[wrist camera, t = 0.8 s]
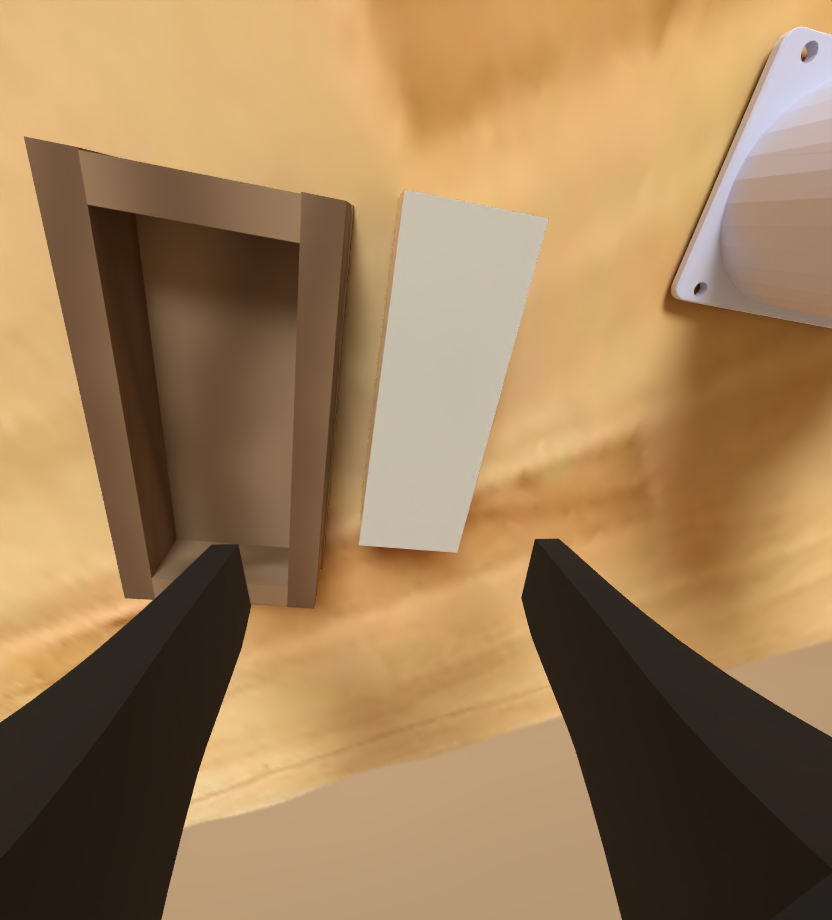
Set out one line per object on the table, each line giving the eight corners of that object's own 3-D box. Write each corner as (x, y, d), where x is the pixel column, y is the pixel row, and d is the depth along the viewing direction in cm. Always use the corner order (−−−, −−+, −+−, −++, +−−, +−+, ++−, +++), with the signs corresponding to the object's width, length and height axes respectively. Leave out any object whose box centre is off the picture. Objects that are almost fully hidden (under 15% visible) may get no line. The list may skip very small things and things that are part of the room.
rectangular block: (505, 219, 15) (548, 218, 12) (442, 491, 21) (457, 552, 17) (397, 197, 15) (404, 189, 11) (362, 484, 21) (358, 545, 17)
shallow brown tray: (354, 205, 15) (348, 201, 12) (323, 555, 22) (315, 608, 19) (102, 155, 13) (21, 136, 10) (160, 543, 21) (123, 598, 18)
